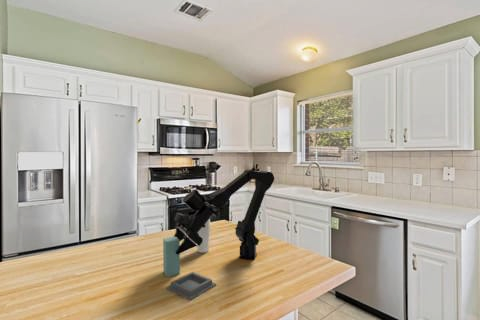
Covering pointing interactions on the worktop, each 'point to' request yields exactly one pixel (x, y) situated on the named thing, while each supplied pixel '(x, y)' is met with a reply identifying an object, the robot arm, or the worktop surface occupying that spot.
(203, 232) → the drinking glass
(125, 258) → the worktop surface
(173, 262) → the teal block
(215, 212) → the robot arm
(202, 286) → the socket holder
